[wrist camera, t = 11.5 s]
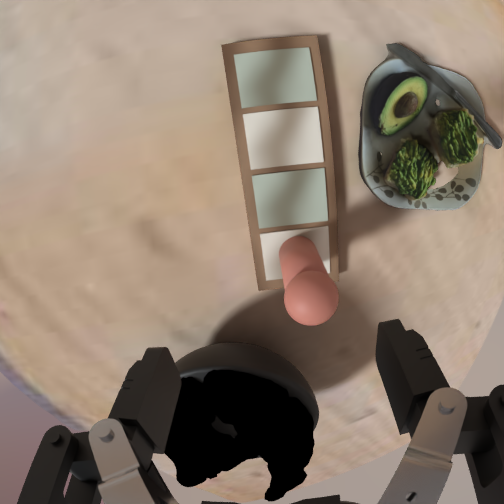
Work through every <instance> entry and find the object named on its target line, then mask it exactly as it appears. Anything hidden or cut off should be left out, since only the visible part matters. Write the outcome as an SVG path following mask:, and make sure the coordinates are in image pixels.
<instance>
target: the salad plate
mask: <svg viewBox="0 0 504 504" xmlns="http://www.w3.org/2000/svg"><path fill="white" fill-rule="evenodd" d="M386 45H387V49H388V51H389V55H388V57H387V58H386V59H385V60H384V61H383V62H382V63H381V64H379V65H378V66H377V67H376V68H375V69H374V70H373V71H372V72H371V73H370V76H369V77H368V78H367V81H366V83H365V87H364V92H363V99H362V106H361V111H360V140H359V152H358V156H359V169H360V175H361V177H362V179H363V181H364V183H365V184H366V185H367V187H368V188H369V189H370V190H371V192H372V193H373V194H374V195H375V196H376V197H378V198H379V199H380V200H381V201H382V202H384V203H386V204H387V205H389V206H393V207H395V208H403V209H426V210H430V209H431V210H437V211H438V210H455V209H459V208H460V207H462V206H463V205H465V204H466V203H467V202H468V201H469V200H470V199H471V198H472V196H473V195H474V194H475V192H476V190H477V189H478V186H479V182H480V177H481V169H482V158H483V149H484V146H485V145H486V144H489V145H491V146H493V147H494V148H496V149H499V148H501V146H502V139H501V137H500V136H499V135H498V134H497V132H496V131H495V130H494V129H493V128H492V127H491V126H490V125H489V124H488V123H487V122H486V120H485V114H484V108H483V104H482V101H481V99H480V97H479V95H478V93H477V91H476V90H475V88H474V87H473V85H472V84H471V83H470V82H469V81H468V80H467V79H466V78H465V77H463V76H461V75H459V74H457V73H455V72H452V71H449V70H446V69H442V68H439V67H436V66H431V65H427V64H426V63H424V62H423V61H421V59H420V57H419V56H417V55H416V54H415V53H413V52H412V51H410V50H408V49H407V48H405V47H403V46H402V45H399V44H397V43H393V44H386ZM436 99H438V100H439V101H440V106H437V105H436V102H435V101H436ZM380 152H381V153H382V156H381V153H380ZM440 161H443V162H444V163H445V165H446V167H447V168H456V167H458V174H457V175H456V176H455V177H454V179H453V180H451V181H450V182H448V183H447V184H446V185H444V186H442V187H440V188H436V189H428V187H429V186H430V185H434V184H435V183H436V179H435V178H434V177H433V174H434V173H435V172H437V170H438V163H439V162H440Z"/></svg>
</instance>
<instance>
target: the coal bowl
mask: <svg viewBox="0 0 504 504" xmlns="http://www.w3.org/2000/svg"><path fill="white" fill-rule="evenodd" d="M175 365H176V367H177V369H178V371H179V373H180V377H181V389H180V393H179V396H178V400H177V404H176V408H175V412H174V415H173V419H172V423H171V427H170V431H169V435H168V439H167V443H166V447H165V451H164V453H165V454H166V455H167V456H168V457H169V458H170V459H171V460H172V461H173V463H174V465H175V467H176V469H177V470H176V471H177V475H176V476H177V481H178V482H179V483H180V484H181V485H183V486H185V487H193V486H196V485H198V484H200V483H203V482H204V481H206V480H207V479H206V478H209V479H212V478H215V477H217V474H219V473H220V472H221V471H229V470H231V469H233V468H234V467H236V466H237V465H239V464H240V463H241V462H243V461H245V460H247V459H253V458H260V457H261V458H263V459H264V461H266V462H267V463H268V470H269V472H270V474H271V477H272V478H271V482H270V487H269V488H268V489H267V491H266V493H265V500H268V501H275V500H278V499H280V498H282V497H283V496H284V495H285V493H286V492H287V491H289V490H292V489H293V488H295V487H296V486H298V485H300V484H302V483H303V482H304V480H305V478H306V476H307V474H306V472H305V471H304V468H305V467H306V466H307V465H308V463H309V461H310V459H311V457H312V454H313V447H314V439H313V431H314V429H315V428H316V425H317V423H318V418H319V409H318V404H317V401H316V398H315V395H314V393H313V391H312V389H311V387H310V385H309V384H308V382H307V381H306V379H305V378H304V377H303V375H302V374H301V373H300V372H299V371H298V370H297V369H296V368H295V367H294V366H293V365H292V364H291V363H290V362H288V361H287V360H286V359H284V358H283V357H281V356H280V355H278V354H276V353H274V352H272V351H270V350H268V349H265V348H263V347H259V346H256V345H252V344H246V343H232V342H229V343H218V344H213V345H209V346H206V347H202V348H200V349H197V350H195V351H193V352H191V353H189V354H187V355H186V356H184V357H182V358H181V359H180V360H178V361H177V362H176V363H175Z"/></svg>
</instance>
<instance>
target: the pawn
mask: <svg viewBox="0 0 504 504" xmlns="http://www.w3.org/2000/svg"><path fill="white" fill-rule="evenodd" d="M279 260H280V266H281V271H282V277H283V283H284V289H285V293H284V303H285V307H286V310H287V312H288V314H289V315H290V316H291V317H292V318H293V319H294V320H295V321H297V322H298V323H301V324H303V325H309V326H314V325H319V324H322V323H324V322H326V321H327V320H328V319H330V318H331V316H332V315H333V314H334V313H335V311H336V309H337V306H338V302H339V293H338V289H337V287H336V285H335V283H334V281H333V280H332V279H331V278H330V277H329V275H328V273H327V270H326V268H325V266H324V264H323V262H322V259H321V257H320V255H319V253H318V251H317V249H316V246H315V245H314V243H313V242H312V241H311V240H310V239H308V238H306V237H303V236H295V237H291V238H289V239H287V240H286V241H285V242H284V243H283V244H282V246H281V247H280V250H279Z"/></svg>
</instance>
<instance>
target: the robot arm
mask: <svg viewBox="0 0 504 504" xmlns="http://www.w3.org/2000/svg"><path fill="white" fill-rule="evenodd" d="M376 363H377V367H378V370H379V373H380V376H381V378H382V381H383V384H384V387H385V390H386V393H387V396H388V399H389V402H390V405H391V408H392V411H393V414H394V417H395V420H396V423H397V426H398V430H399V433H400V435H401V434H405V433H408V432H409V433H410V436H411V442H410V444H409V446H408V448H407V450H406V452H405V454H404V456H403V458H402V460H401V462H400V464H399V467H398V468H397V470H396V472H395V474H394V476H393V478H392V480H391V481H390V483H389V485H388V487H387V488H386V490H385V492H384V494H383V495H382V497H381V499H380V500H379V502H378V504H437V502H438V500H439V497H440V495H441V493H442V491H443V488H444V486H445V483H446V481H447V479H448V476H449V473H450V471H451V468H452V462H451V459H452V456H453V454H465V457H466V460H467V464H468V467H469V470H470V474H471V477H472V481H473V484H474V489H475V493H476V496H477V501H478V504H504V385H499V386H497V387H495V388H494V389H493V390H492V392H491V393H490V395H489V396H484V397H465V396H464V395H463V394H462V393H461V392H460V391H459V390H457V389H454V388H450V386H449V384H448V382H447V380H446V379H445V377H444V375H443V373H442V371H441V369H440V367H439V365H438V363H437V362H436V360H435V358H434V357H433V354H432V352H431V351H430V349H428V345H427V344H426V342H425V340H424V338H423V337H422V336H421V335H420V334H418V333H417V332H416V331H414V330H413V329H412V330H408V331H406V330H405V329H404V327H403V325H402V323H401V321H400V320H399V319H395V320H390V321H385V322H380V323H379V325H378V334H377V344H376ZM180 389H181V377H180V373H179V371H178V369H177V367H176V365H175V362H174V360H173V358H172V356H171V354H170V351H169V349H168V348H167V347H155V348H147V350H146V352H145V354H144V356H143V358H142V360H138V361H137V362H136V363H135V364H134V365H133V366H132V367H131V368H130V369H129V371H128V373H127V375H126V377H125V381H124V382H123V384H122V386H121V389H120V391H119V393H118V396H117V398H116V400H115V403H114V405H113V407H112V410H111V412H110V414H109V417H108V419H103V420H100V421H98V422H97V423H96V424H94V425H93V427H92V428H91V430H90V431H88V432H81V433H74V434H72V433H71V432H70V430H68V428H66V427H65V426H62V425H59V426H54V427H52V428H50V429H49V430H48V431H47V432H46V433H45V435H44V437H43V439H42V441H41V444H40V446H39V448H38V450H37V453H36V455H35V457H34V460H33V462H32V465H31V467H30V470H29V473H28V475H27V478H26V481H25V483H24V485H23V488H22V491H21V494H20V497H19V499H18V502H17V504H100V503H101V499H103V502H104V504H179V503H178V502H177V501H176V500H175V499H174V497H173V496H172V494H171V493H170V491H169V489H168V488H167V486H166V484H165V483H164V481H163V479H162V477H161V476H160V474H159V472H158V470H157V468H156V467H155V465H154V463H153V461H152V460H151V459H152V455H153V453H157V454H164V451H165V447H166V443H167V439H168V435H169V431H170V427H171V423H172V419H173V415H174V412H175V408H176V404H177V400H178V396H179V393H180ZM69 472H71V473H72V476H71V479H70V482H69V486H68V489H67V492H66V495H65V498H64V495H63V491H64V487H65V484H66V481H67V478H68V474H69ZM201 504H239V503H235V502H210V501H202V503H201ZM291 504H358V503H354V502H348V501H340V495H333V496H327V497H320V498H312V499H305V500H301V501H298V502H295V503H291Z"/></svg>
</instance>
